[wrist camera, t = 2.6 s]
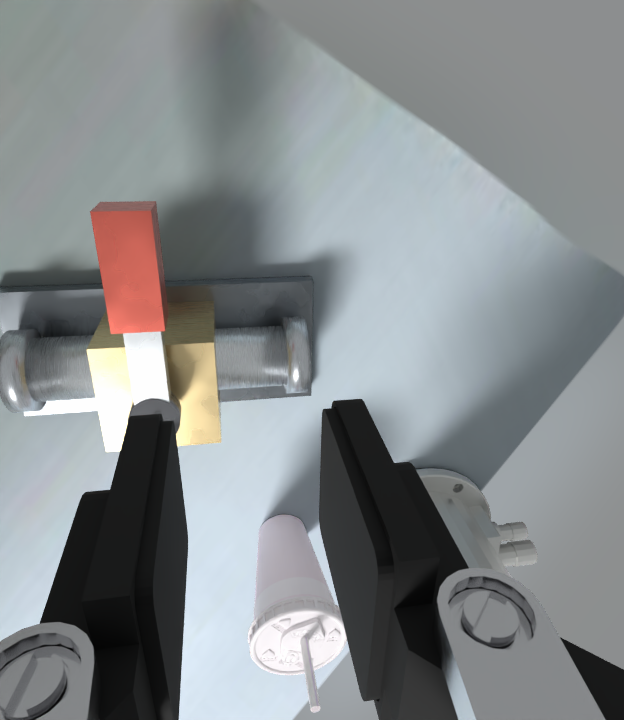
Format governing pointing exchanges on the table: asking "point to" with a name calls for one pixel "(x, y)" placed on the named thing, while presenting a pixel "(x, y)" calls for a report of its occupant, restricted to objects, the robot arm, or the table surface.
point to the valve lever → (137, 299)
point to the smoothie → (293, 606)
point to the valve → (183, 349)
